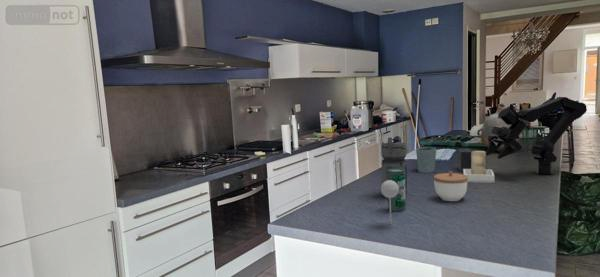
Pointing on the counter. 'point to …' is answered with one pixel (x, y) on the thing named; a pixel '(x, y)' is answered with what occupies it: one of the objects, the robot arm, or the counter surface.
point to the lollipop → (389, 191)
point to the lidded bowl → (450, 186)
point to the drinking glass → (426, 159)
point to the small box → (464, 159)
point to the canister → (478, 162)
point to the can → (399, 200)
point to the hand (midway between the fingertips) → (492, 156)
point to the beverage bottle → (394, 157)
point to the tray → (480, 176)
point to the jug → (497, 122)
